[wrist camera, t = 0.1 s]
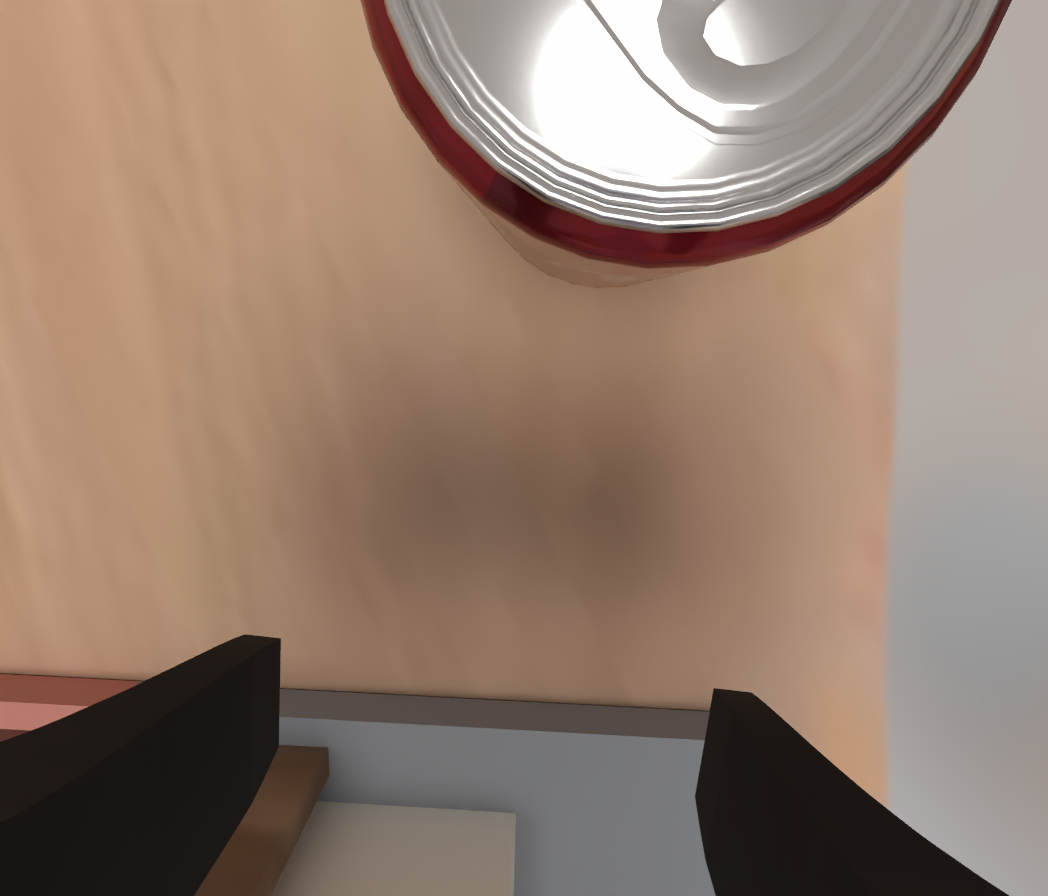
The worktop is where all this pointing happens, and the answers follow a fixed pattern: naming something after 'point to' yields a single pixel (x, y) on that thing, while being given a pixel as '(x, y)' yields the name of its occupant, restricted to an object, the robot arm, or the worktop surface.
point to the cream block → (401, 852)
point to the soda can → (673, 116)
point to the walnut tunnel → (270, 825)
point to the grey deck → (490, 773)
